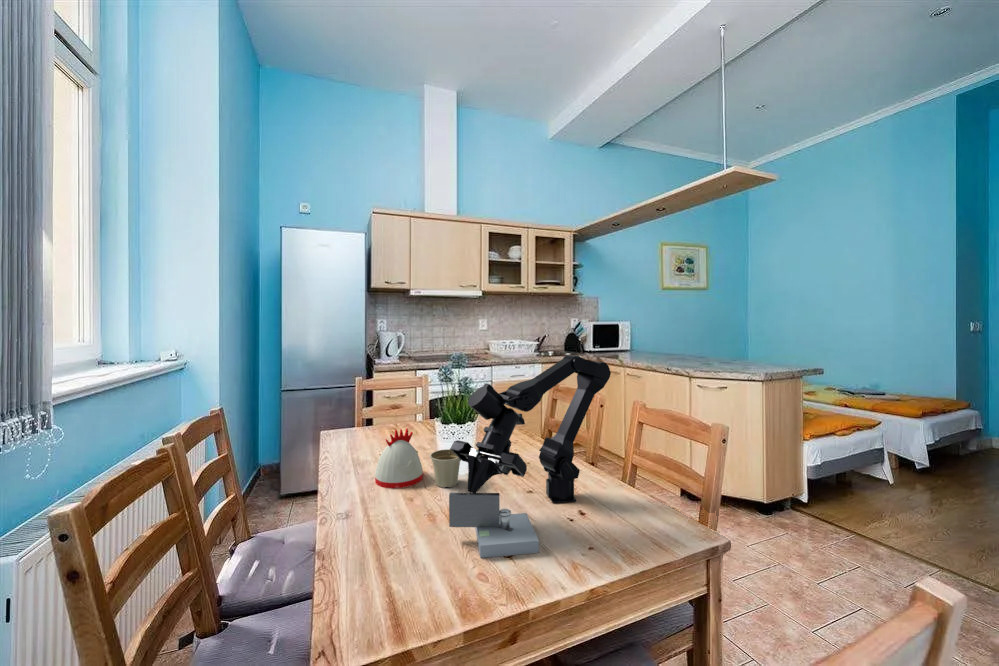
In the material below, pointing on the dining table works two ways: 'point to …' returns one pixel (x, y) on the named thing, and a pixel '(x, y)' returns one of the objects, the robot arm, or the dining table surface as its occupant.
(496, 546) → the gray square base
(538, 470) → the dining table surface
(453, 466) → the flower pot
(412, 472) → the grey and red dome
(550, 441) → the robot arm
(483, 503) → the gray pivoting panel
